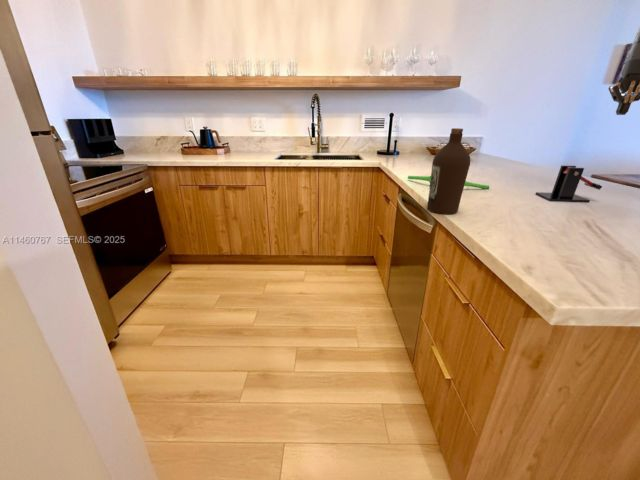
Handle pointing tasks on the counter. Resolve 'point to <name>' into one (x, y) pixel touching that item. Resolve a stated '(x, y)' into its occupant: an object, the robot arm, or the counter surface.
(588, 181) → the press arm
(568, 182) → the bracket
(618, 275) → the counter surface
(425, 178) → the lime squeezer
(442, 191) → the olive oil
